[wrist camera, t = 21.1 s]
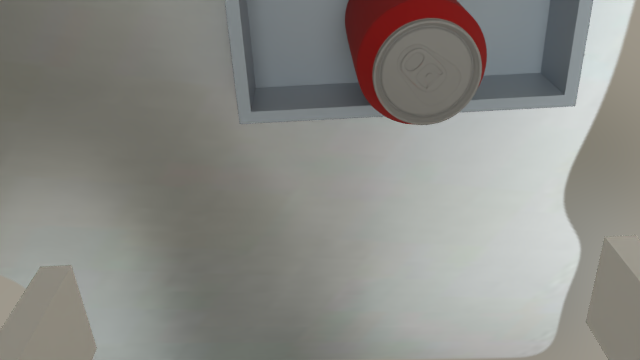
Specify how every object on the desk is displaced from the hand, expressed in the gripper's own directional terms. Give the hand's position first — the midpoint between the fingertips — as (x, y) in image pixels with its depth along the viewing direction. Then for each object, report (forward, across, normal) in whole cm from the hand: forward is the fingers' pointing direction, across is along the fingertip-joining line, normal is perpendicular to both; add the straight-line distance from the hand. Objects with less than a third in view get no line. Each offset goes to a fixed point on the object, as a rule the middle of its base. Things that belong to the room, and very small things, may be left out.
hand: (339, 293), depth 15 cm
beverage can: (+28, +5, 0) cm, 29 cm away
